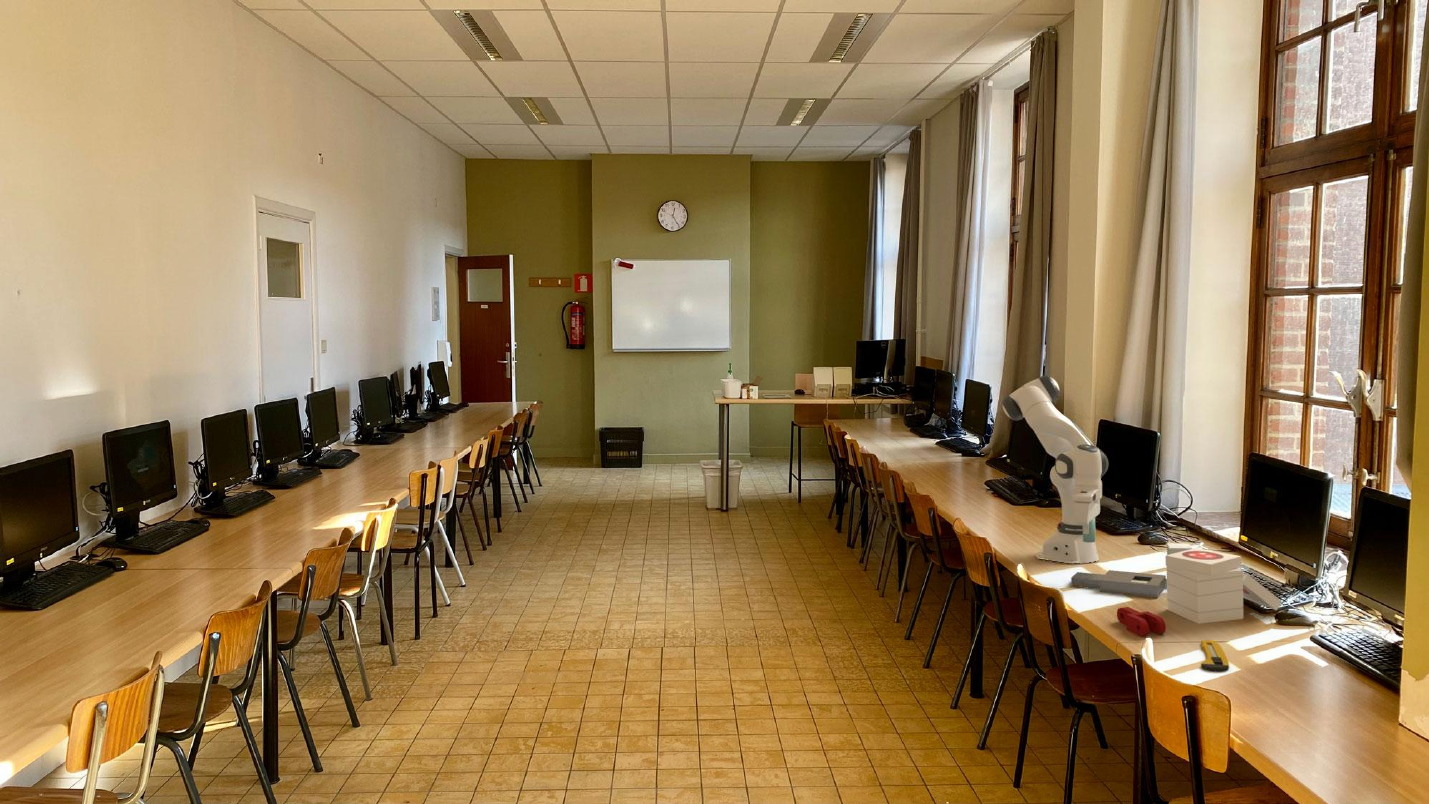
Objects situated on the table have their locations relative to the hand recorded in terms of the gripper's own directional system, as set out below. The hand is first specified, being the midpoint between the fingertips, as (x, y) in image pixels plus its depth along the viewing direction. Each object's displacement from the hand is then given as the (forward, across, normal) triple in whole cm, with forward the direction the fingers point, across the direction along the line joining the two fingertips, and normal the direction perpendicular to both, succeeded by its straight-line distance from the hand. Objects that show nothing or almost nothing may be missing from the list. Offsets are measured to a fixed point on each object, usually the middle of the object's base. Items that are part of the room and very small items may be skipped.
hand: (1088, 532), depth 326 cm
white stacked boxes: (+18, +16, +42) cm, 48 cm away
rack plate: (+18, 0, +9) cm, 20 cm away
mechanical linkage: (+18, +42, +23) cm, 51 cm away
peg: (+3, 0, 0) cm, 3 cm away
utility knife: (+18, +59, +45) cm, 76 cm away
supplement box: (+18, -15, +26) cm, 36 cm away
